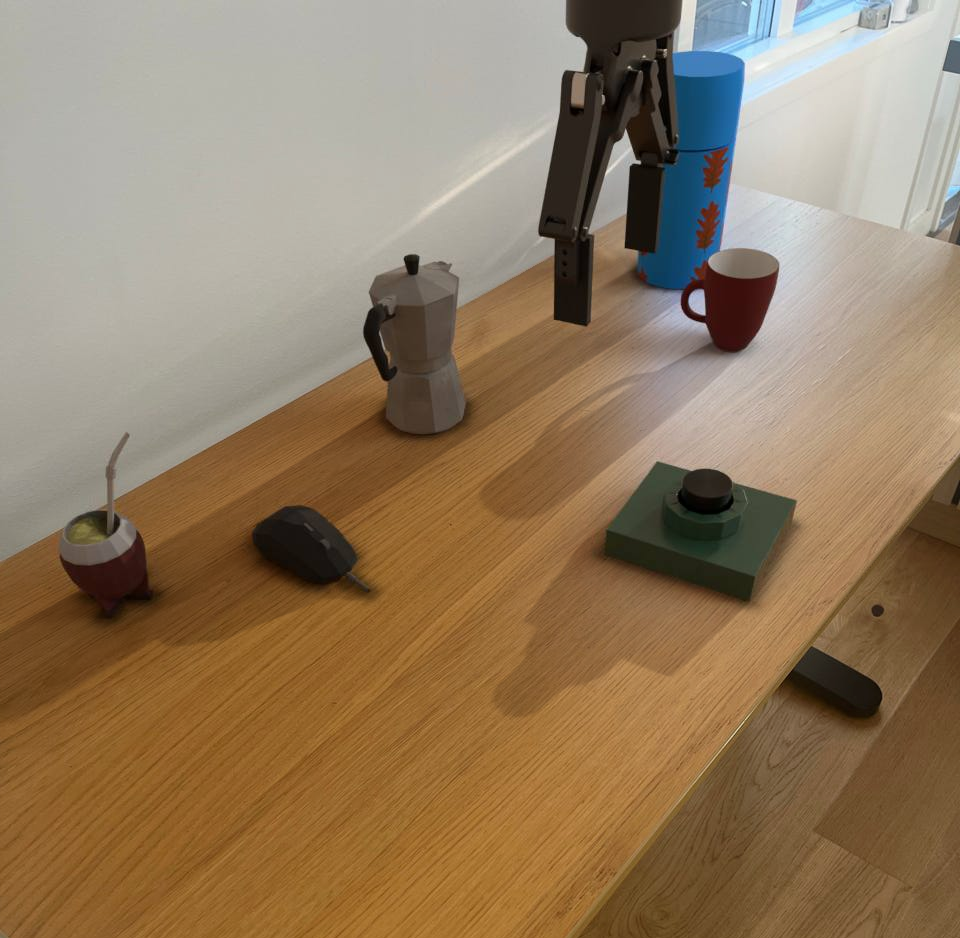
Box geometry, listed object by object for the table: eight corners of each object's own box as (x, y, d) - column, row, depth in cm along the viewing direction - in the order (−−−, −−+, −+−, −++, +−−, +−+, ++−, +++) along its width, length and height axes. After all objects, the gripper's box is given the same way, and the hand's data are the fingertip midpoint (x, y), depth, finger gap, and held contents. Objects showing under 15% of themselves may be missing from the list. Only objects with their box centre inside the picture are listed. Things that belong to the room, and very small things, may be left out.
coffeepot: (422, 375, 112) (407, 222, 99) (491, 394, 109) (485, 237, 96) (347, 442, 103) (320, 282, 90) (419, 464, 100) (402, 302, 87)
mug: (674, 357, 113) (683, 276, 106) (677, 325, 118) (686, 245, 111) (765, 363, 111) (780, 280, 104) (764, 329, 116) (779, 249, 109)
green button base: (791, 525, 90) (801, 482, 87) (749, 602, 83) (759, 559, 79) (654, 485, 95) (658, 443, 92) (604, 554, 88) (607, 512, 85)
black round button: (736, 494, 86) (739, 476, 85) (719, 521, 84) (722, 503, 82) (690, 481, 88) (693, 463, 87) (673, 507, 85) (675, 489, 84)
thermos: (622, 263, 131) (636, 58, 113) (691, 248, 133) (715, 45, 115) (660, 296, 124) (681, 82, 106) (732, 280, 126) (764, 68, 108)
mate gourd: (69, 618, 85) (2, 483, 74) (105, 561, 91) (47, 427, 80) (147, 624, 84) (90, 488, 73) (179, 566, 90) (130, 431, 79)
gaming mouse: (343, 610, 84) (337, 577, 82) (241, 543, 92) (231, 510, 89) (393, 574, 88) (389, 540, 85) (290, 512, 95) (283, 479, 92)
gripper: (645, -81, 68) (625, 216, 84) (478, 1, 54) (492, 345, 69) (746, -77, 66) (707, 230, 81) (600, 11, 51) (586, 367, 66)
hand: (608, 283), depth 75 cm, fingers open, 13 cm apart
